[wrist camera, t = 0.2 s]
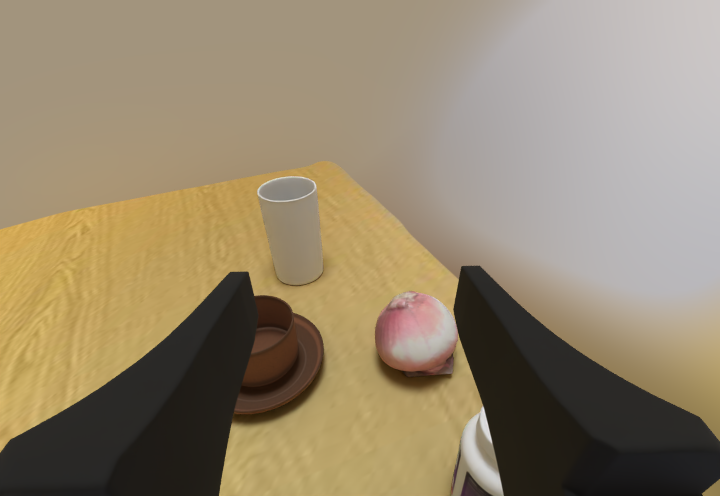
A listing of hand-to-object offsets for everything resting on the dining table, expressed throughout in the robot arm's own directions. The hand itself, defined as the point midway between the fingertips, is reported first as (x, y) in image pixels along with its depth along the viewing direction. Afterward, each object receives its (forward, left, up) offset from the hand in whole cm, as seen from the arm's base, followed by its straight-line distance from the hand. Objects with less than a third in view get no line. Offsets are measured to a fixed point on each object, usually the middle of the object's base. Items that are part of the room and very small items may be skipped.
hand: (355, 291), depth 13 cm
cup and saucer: (+15, +9, -22) cm, 28 cm away
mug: (+32, +7, -22) cm, 39 cm away
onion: (+15, -6, -22) cm, 27 cm away
